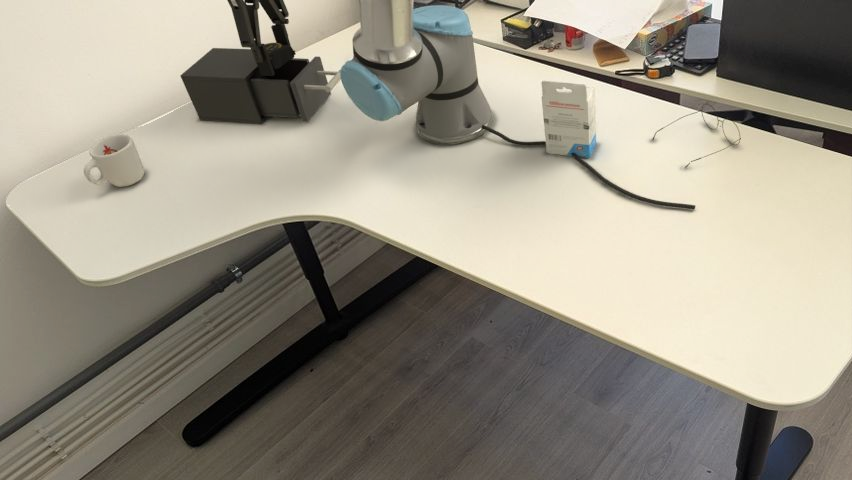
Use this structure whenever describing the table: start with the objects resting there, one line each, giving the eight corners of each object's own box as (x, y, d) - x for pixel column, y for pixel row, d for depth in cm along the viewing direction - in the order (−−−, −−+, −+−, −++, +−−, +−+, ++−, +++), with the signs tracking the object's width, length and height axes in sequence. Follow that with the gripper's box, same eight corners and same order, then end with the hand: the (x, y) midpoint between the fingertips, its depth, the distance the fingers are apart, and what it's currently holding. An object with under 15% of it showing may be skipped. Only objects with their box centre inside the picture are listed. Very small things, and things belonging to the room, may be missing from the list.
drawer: (356, 95, 157) (346, 57, 151) (334, 123, 149) (322, 84, 143) (273, 91, 162) (260, 54, 156) (247, 118, 154) (232, 80, 148)
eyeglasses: (688, 171, 125) (690, 146, 122) (648, 138, 134) (649, 114, 131) (742, 151, 128) (746, 126, 125) (700, 120, 137) (702, 96, 133)
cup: (109, 203, 137) (88, 168, 132) (88, 191, 141) (67, 157, 136) (157, 174, 143) (140, 139, 138) (136, 163, 147) (117, 129, 142)
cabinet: (289, 94, 162) (274, 49, 155) (261, 124, 154) (244, 78, 147) (230, 91, 167) (212, 47, 159) (199, 120, 158) (179, 75, 151)
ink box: (597, 144, 135) (596, 71, 125) (589, 159, 131) (587, 85, 121) (553, 139, 137) (549, 67, 127) (545, 153, 134) (539, 80, 124)
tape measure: (275, 76, 147) (269, 58, 144) (251, 70, 150) (245, 53, 147) (298, 61, 151) (293, 44, 148) (275, 55, 154) (269, 38, 151)
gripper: (249, -69, 142) (285, 42, 158) (191, -29, 128) (236, 88, 144) (283, -69, 140) (316, 43, 156) (227, -29, 126) (269, 90, 142)
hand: (277, 64), depth 150 cm, fingers closed on tape measure, 7 cm apart
